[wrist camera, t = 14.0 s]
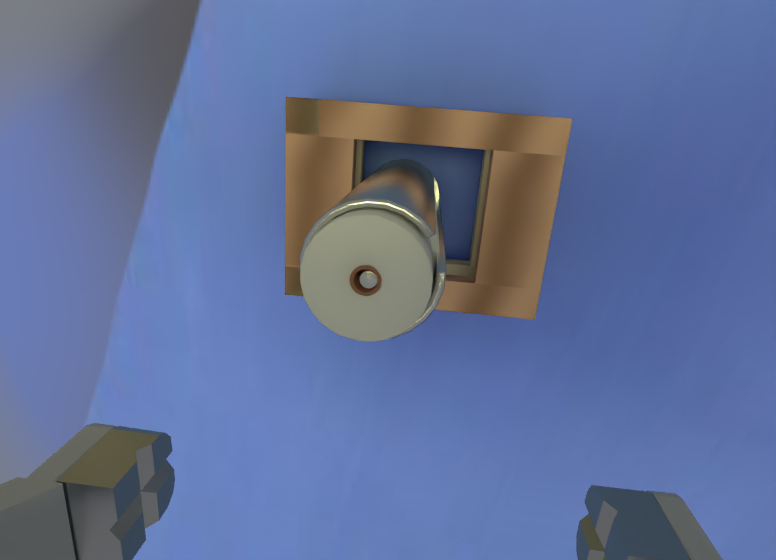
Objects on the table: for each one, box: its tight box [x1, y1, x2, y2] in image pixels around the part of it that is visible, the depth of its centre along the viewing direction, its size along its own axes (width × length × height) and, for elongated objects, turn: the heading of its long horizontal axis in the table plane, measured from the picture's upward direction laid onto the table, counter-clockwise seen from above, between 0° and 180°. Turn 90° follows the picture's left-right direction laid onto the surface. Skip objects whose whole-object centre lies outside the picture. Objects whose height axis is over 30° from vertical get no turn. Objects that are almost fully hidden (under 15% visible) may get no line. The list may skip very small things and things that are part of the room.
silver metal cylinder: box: [299, 159, 447, 342], centre depth 32 cm, size 6×6×25 cm
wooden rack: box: [285, 97, 572, 320], centre depth 40 cm, size 20×15×8 cm
